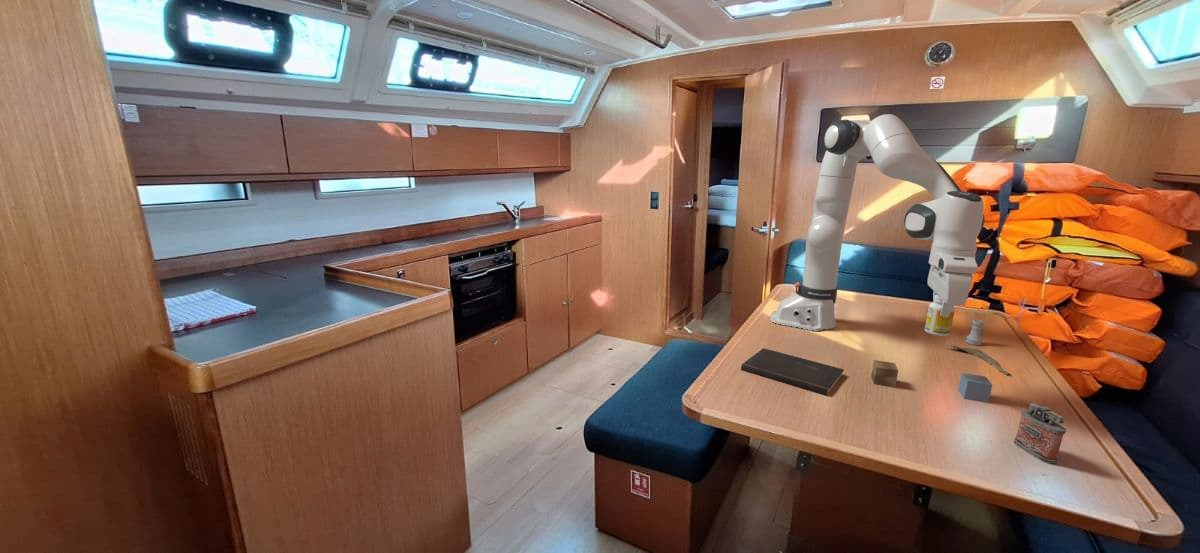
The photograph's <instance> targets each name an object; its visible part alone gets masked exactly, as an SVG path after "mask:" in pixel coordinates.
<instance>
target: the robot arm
mask: <svg viewBox="0 0 1200 553" xmlns="http://www.w3.org/2000/svg"><path fill="white" fill-rule="evenodd" d="M823 145H824V148H825V150H826V151H825V153H824V156H823V159H822V160H821V161H822V162H821V164H820V169H819V174H818V178H817V184H816V189H815V194H814V201H813V202H814V203H813V210H812V217H811V222H810V225H809V227H808V229H807V232H806V242H805V254H804V256H805V258H804V259H805V260H804V267H803V268H804V269H803V276H802V277H803V278H802V283H800V282H796V283H794V287H795V293H793V294H792V295H790V296H788V297H786V298H784V299H782V300H781V301H780V302H779V304H778V305H777V309H776V310H775V311H773V312H771V313H770V316H769V320H770V322H771V323H773V322H774V323H773V324H775V323H776V324H775V325H780V324H781V326H785V325H786V327H791V326H792V327H791V328H796V327H798V328H797V329H801V328H803V329H802V330H807V329H808V331H812V330H814V331H813V332H820V331H824V330H823V329H825V330H830V329H831V330H832V329H835V328H836V327H837V324H836V316H835V315H836V314H835V303H836V302H837V297H838V287H837V283H838V276H839V269H840V259H841V253H842V252H841V251H842V244H843V236H844V232H845V227H846V224H847V218H848V213H849V207H850V203H851V198H852V193H853V189H854V185H855V178H856V174H857V173H856V172H857V166H858V163H860V161H861V160H862V159H864V158H866V160H868V161H869V160H872V161H873V162H874V165H875V166H876V168H877V169H878V171H879V172H880V173H881V174H883V175H885V176H886V177H888V178H891V179H896V180H900V181H905V182H908V183H912V184H915V185H917V186H919V187H922V188H923V189H924V190H926V191H927V192H928V193H929V194H930V196H931V197H932V198H933V199H932V200H928V201H925V202H921V203H920V202H919V203H915V204H913V205H912V206H911V207H910V208H909V209H908V210H907V211H906V213H905V214H904V218H903V219H904V220H903V226H904V229H905V232H906V234H907V235H908V236H909V237H911V238H913V239H917V240H925V241H928V240H929V241H930V240H931V241H932V243H931V247H930V253H929V259H928V264H929V265H930V268H929V272H928V276H927V286H928V287H929V288H930V289H931V290H932V291H933V293H932V295H933V296H932V298H933V299H934V296H935V295H938V296H939V297H940V298H941V299H942V300H943V301H942V303H943V304H942V308H940V312H939V314H940V315H941V316H942V317H949V316H950V311H951V310H952V308H953V307H955V306H964V305H965V304H966V302H967V300H968V297H969V293H970V291H971V287H972V282H973V275H976V274H977V273H978V269H979V266H978V264H977V261H976V252H977V247H978V246H977V239H978V236H979V234H980V232H981V231H982V230H983V228H984V226H985V222H986V221H985V220H986V219H985V214H984V212H985V211H984V210H985V209H984V208H985V206H984V199H983V197H981V196H980V195H979V194H977V193H976V194H975V193H974V192H969V191H962V190H961V188H960V187H959V185H958V184H957V183H956V182H955V180H954V179H953V178H952V177H951V175H950V174H949V172H948V171H947V170H946V169H945V168H944V167H943V166H942V165H941V164H940V163H939V162H938V161H936V159H935V158H932V157H931V155H929V154H928V153H927V152H926V151H925V150H924V149H923V148H922V147H921V146H920V145H919V143H918V142H917V141H916V139H915V137H914V136H913V133H912V132H911V131H910V129H909V128H908V127H907V125H906V124H905V123H904V122H903V121H902V120H901V119H900V118H899V117H898V115H897V116H896V115H895V114H891V113H888V114H887V113H886V114H882V115H881V114H880V115H879V116H876V117H875V118H872V119H871V120H870V119H862V120H860V119H852V120H851V119H850V120H849V119H840V120H839V119H838V120H836V121H833V122H832V123H830V124H829V125H828V127H827V128H826V130H825V132H824V136H823ZM933 302H934V300H933V301H932V303H933ZM819 330H820V331H819Z"/></svg>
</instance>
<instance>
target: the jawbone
mask: <svg viewBox="0 0 1200 553" xmlns="http://www.w3.org/2000/svg"><path fill="white" fill-rule="evenodd" d="M944 346H948V347H952V348H953V350H954V349H955V351H960V350H961V351H964V352H966V353H969V354H970V355H972V356H973V355H974V356H976V357H977V358H979V359H983V361H986V362H987V363H988V364H989V365H992V367H994V368H996V370H998V371H999V372H1001V373H1002V374H1003V373H1004V375H1006V376H1007V377H1008V376H1012V374H1011V373H1010V372H1008V371H1007V370H1005V369H1003V368H1002V367H1001V365H1000V363H999V362H998V361H997V360H995V359H994V358H992V357H991V356H989V355H988V354H987V353H985V352H983V350H980V349H977V348H972V347H971V348H970V347H960V346H958V345H956V344H954V345H952V344H948V343H945V344H944Z"/></svg>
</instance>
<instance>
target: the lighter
mask: <svg viewBox="0 0 1200 553" xmlns="http://www.w3.org/2000/svg"><path fill="white" fill-rule="evenodd" d="M1064 421H1065V418H1064V417H1063V416H1062V415H1060V414H1058V413H1056V412H1054V411H1051V408H1049V407H1048V406H1041V405H1039V404H1037V403H1033V402H1032V403H1031V402H1030V404H1029V409H1021V411H1020V420H1019V424H1018V428H1017V431H1016V432H1017V433H1016V435H1015V436H1016V437H1014V439H1013V444H1014V445H1016V446H1017V447H1018V448H1019V449H1021V450H1023V451H1024V452H1025V453H1027V454H1029V455H1030V456H1032V457H1034V458H1035V459H1038V460H1039V461H1041V462H1043V463H1045V464H1048V465H1056V464H1058V460H1059V459H1058V455H1059V452H1060V448H1061V445H1062V442H1063V438H1064V435H1065V434H1066V432H1067V429H1066V428H1065V427H1064V426H1062V424H1064Z"/></svg>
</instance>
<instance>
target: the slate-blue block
mask: <svg viewBox="0 0 1200 553" xmlns="http://www.w3.org/2000/svg"><path fill="white" fill-rule="evenodd" d="M992 389H993V383H992V382H991V381H990V380H989V379H988V378H987V377H986V375H980V374H979V375H977V374H971V373H964V372H961V374H960V380H959V383H958V388H957V391H958V392H959V394H960V395H961V397H962V398H963V400H969V401H973V402H974V401H976V402H980V403H981V402H982V403H989V402H990V396H991V393H992Z"/></svg>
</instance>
